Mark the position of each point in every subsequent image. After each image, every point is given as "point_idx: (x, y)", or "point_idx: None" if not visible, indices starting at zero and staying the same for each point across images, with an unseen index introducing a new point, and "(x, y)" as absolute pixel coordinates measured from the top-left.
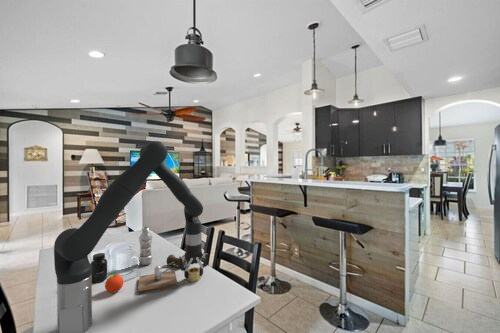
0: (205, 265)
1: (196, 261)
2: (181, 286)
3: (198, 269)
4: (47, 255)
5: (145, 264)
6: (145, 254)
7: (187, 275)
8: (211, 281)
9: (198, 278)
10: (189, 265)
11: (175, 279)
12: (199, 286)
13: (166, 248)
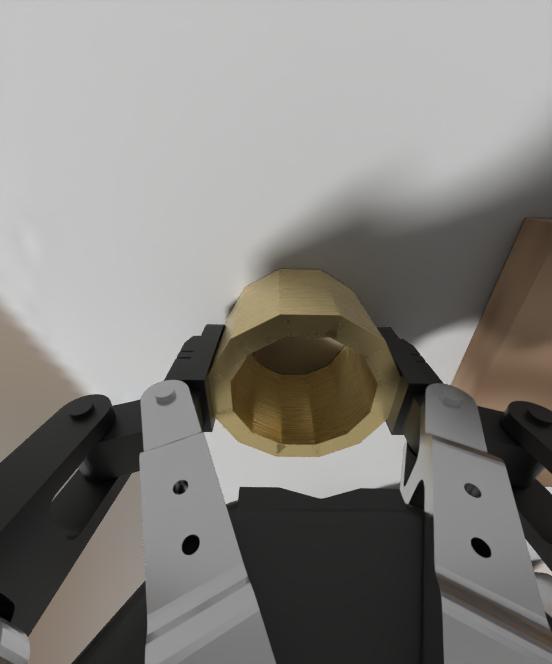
0: (86, 411)
1: (260, 546)
2: (477, 212)
3: (233, 401)
4: None
5: (540, 577)
6: None
7: (390, 345)
8: (91, 179)
9: (252, 289)
10: (447, 461)
11: (516, 340)
12: (268, 96)
13: None
